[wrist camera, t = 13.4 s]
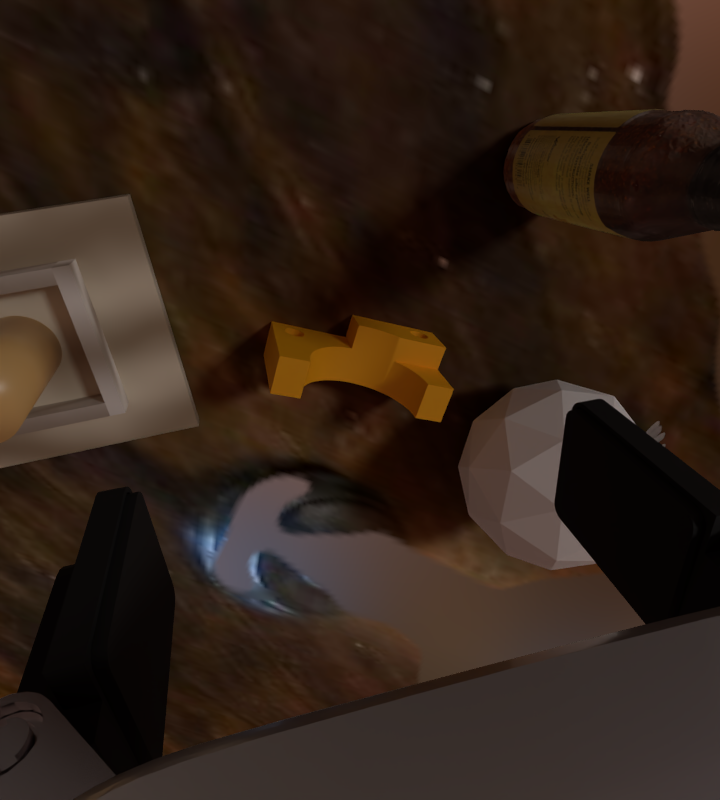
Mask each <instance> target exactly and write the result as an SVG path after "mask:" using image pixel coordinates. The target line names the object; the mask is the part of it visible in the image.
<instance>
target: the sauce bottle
mask: <svg viewBox="0 0 720 800" xmlns="http://www.w3.org/2000/svg"><path fill="white" fill-rule="evenodd" d="M503 174H504V182H505V185H506V189H507V192H508V193H509V194H510V196H511V198H512V200H513V201H514V202H515V203H516V204H517V205H519V206H521V207H523V208H526V209H527V210H529V211H530V212H532V213H534V214H536V215H540V216H543V217H547V218H551V219H554V220H558V221H562V222H566V223H571V224H574V225H578V226H582V227H586V228H590V229H594V230H598V231H601V232H606V233H610V234H614V235H617V236H621V237H626V238H630V239H634V240H640V241H659V240H664V239H670V238H675V237H680V236H685V235H690V234H695V233H700V232H705V231H710V230H715V231H720V117H719V116H718V115H715V114H713V113H710V112H705V111H699V110H698V111H697V110H683V111H672V112H671V111H666V110H659V109H655V110H633V111H610V112H590V113H568V114H555V115H550V116H548V117H546V118H542V119H538V120H537V121H535V122H533V123H531V124H529V125H528V126H527V127H525V128H523V129H522V130H521V131H520V132H519V133H518V134H517V135H516V137H515V138H514V139H513V141H512V143H511V145H510V147H509V149H508V153H507V156H506V158H505V162H504V170H503Z"/></svg>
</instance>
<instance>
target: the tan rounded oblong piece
mask: <svg viewBox="0 0 720 800" xmlns="http://www.w3.org/2000/svg"><path fill="white" fill-rule="evenodd" d="M61 360H62V349H61V345H60V342H59V340H58V338H57V337H56V335H55V334H54V333H53V332H52V331H51V330H50V329H49V328H48V327H47V326H45V325H44V324H42V323H41V322H39V321H37V320H34V319H32V318H28V317H24V316H7V317H3V318H0V443H2V442H4V441H6V440H8V439H10V438H11V437H12V436H14V435H15V434H16V433H17V431H18V430H19V428H20V427H21V425H22V424H23V422H24V421H25V419H26V417H27V416H28V414H29V413H30V411H31V410H32V408H33V406H34V405H35V403H36V402H37V400H38V399H39V397H40V395H41V394H42V392H43V391H44V389H45V388H46V386H47V384H48V383H49V381H50V380H51V378H52V377H53V375H54V373H55V372H56V370H57V369H58V367H59V365H60V363H61Z"/></svg>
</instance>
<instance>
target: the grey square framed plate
mask: <svg viewBox="0 0 720 800" xmlns="http://www.w3.org/2000/svg"><path fill="white" fill-rule="evenodd" d="M7 316H24V317H28V318H32V319H34V320H37V321H39V322H41V323H42V324H44V325H45V326H47V327H48V328H49V329H50V330H51V331H52V332H53V333H54V334H55V335H56V337H57V338H58V340H59V342H60V345H61V349H62V360H61V363H60V365H59V367H58V369H57V370H56V372H55V373H54V375H53V377H52V378H51V380H50V381H49V383H48V384H47V386H46V388H45V389H44V391H43V392H42V394H41V395H40V397H39V399H38V400H37V402H36V403H35V405H34V406H33V408H32V410H31V411H30V413H29V414H28V416H27V417H26V419H25V421H24V422H23V424H22V425H21V427H20V428H19V430H18V431H17V433H16V434H15V435H14V436H12V437H11V438H10V439H8V440H6V441H4V442H2V443H0V468H3V467H8V466H13V465H17V464H22V463H27V462H31V461H36V460H41V459H46V458H50V457H55V456H60V455H64V454H69V453H74V452H79V451H83V450H88V449H93V448H97V447H102V446H107V445H111V444H116V443H121V442H126V441H130V440H135V439H140V438H144V437H149V436H154V435H159V434H163V433H168V432H173V431H177V430H182V429H187V428H191V427H196V426H199V417H198V414H197V411H196V407H195V404H194V401H193V398H192V394H191V391H190V388H189V385H188V381H187V378H186V375H185V372H184V368H183V365H182V362H181V359H180V355H179V352H178V349H177V346H176V342H175V339H174V336H173V333H172V329H171V326H170V323H169V320H168V316H167V313H166V310H165V307H164V303H163V300H162V297H161V294H160V290H159V287H158V284H157V281H156V277H155V274H154V271H153V268H152V264H151V261H150V258H149V255H148V251H147V248H146V245H145V242H144V238H143V235H142V232H141V229H140V225H139V222H138V219H137V216H136V212H135V209H134V206H133V203H132V199H131V196H130V194H126V195H119V196H113V197H106V198H100V199H93V200H87V201H80V202H74V203H67V204H61V205H54V206H48V207H41V208H35V209H28V210H22V211H15V212H9V213H2V214H0V318H3V317H7Z"/></svg>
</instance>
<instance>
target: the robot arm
mask: <svg viewBox="0 0 720 800" xmlns="http://www.w3.org/2000/svg"><path fill="white" fill-rule="evenodd" d="M554 505H555V510H556V513H557V515H558V517H559V518H560V520H561V521H562V522H563V523H564V524H565V526H566V527H567V528H568V529H569V531H570V532H571V533H572V534H573V535H574V537H575V538H576V539H577V540H578V542H579V543H580V544H581V545H582V547H583V548H584V549H585V550H586V551H587V553H588V554H589V555H590V556H591V558H592V559H593V560H594V561H595V563H596V564H597V565H598V566H599V567H600V569H601V570H602V571H603V572H604V574H605V575H606V576H607V577H608V578H609V580H610V581H611V582H612V583H613V584H614V586H615V587H616V588H617V590H618V591H619V592H620V593H621V594H622V596H623V597H624V598H625V599H626V600H627V602H628V603H629V604H630V605H631V607H632V608H633V609H634V610H635V612H636V613H637V614H638V615H639V616H640V618H641V619H642V620H643V621H644V623H645V625H642V626H638V627H634V628H630V629H626V630H622V631H618V632H614V633H610V634H607V635H603V636H599V637H595V638H591V639H587V640H583V641H580V642H575V643H571V644H567V645H564V646H560V647H556V648H552V649H549V650H544V651H541V652H537V653H533V654H529V655H525V656H521V657H518V658H514V659H510V660H506V661H502V662H498V663H495V664H491V665H487V666H483V667H479V668H476V669H472V670H468V671H464V672H460V673H457V674H453V675H449V676H445V677H441V678H438V679H434V680H430V681H426V682H423V683H419V684H415V685H411V686H408V687H404V688H400V689H396V690H393V691H389V692H385V693H381V694H378V695H374V696H370V697H367V698H363V699H359V700H355V701H352V702H348V703H344V704H341V705H337V706H333V707H329V708H326V709H322V710H318V711H314V712H311V713H307V714H303V715H300V716H296V717H292V718H288V719H285V720H281V721H278V722H274V723H271V724H267V725H264V726H260V727H257V728H253V729H250V730H247V731H243V732H240V733H236V734H233V735H229V736H226V737H222V738H219V739H215V740H212V741H208V742H205V743H201V744H198V745H195V746H192V747H189V748H186V749H183V750H180V751H177V752H174V753H171V754H168V755H165V756H162V752H163V740H164V728H165V716H166V705H167V693H168V681H169V669H170V657H171V645H172V634H173V622H174V610H175V592H174V587H173V583H172V580H171V577H170V574H169V571H168V568H167V565H166V563H165V560H164V557H163V554H162V551H161V548H160V545H159V542H158V539H157V536H156V533H155V530H154V527H153V524H152V521H151V518H150V515H149V512H148V509H147V506H146V504H145V501H144V498H143V495H142V493H141V492H135V493H132V491H131V489H130V488H129V487H123V488H117V489H112V490H107V491H101V492H98V493H97V495H96V497H95V501H94V504H93V507H92V511H91V514H90V517H89V520H88V524H87V527H86V530H85V533H84V537H83V540H82V543H81V546H80V550H79V553H78V556H77V559H76V563H75V564H74V565H69V566H64V567H63V568H61V569H60V570H59V572H58V574H57V576H56V579H55V582H54V585H53V588H52V591H51V594H50V597H49V600H48V603H47V606H46V609H45V612H44V615H43V618H42V621H41V624H40V627H39V630H38V633H37V636H36V639H35V641H34V644H33V647H32V650H31V653H30V656H29V659H28V662H27V665H26V668H25V671H24V674H23V677H22V680H21V683H20V686H19V689H18V692H17V693H15V694H10V695H8V696H5V697H3V698H1V699H0V800H720V490H719V489H718V488H716V487H715V486H714V485H712V484H711V483H710V482H709V481H707V480H706V479H705V478H704V477H702V476H701V475H700V474H698V473H697V472H696V471H695V470H693V469H692V468H691V467H689V466H688V465H687V464H686V463H684V462H683V461H682V460H680V459H679V458H678V457H677V456H675V455H674V454H673V453H671V452H670V451H669V450H668V449H666V448H665V447H664V446H662V445H661V444H660V443H659V442H657V441H656V440H655V439H654V438H652V437H651V436H650V435H648V434H647V433H646V432H645V431H643V430H642V429H641V428H639V427H638V426H637V425H636V424H634V423H633V422H632V421H630V420H629V419H628V418H627V417H625V416H624V415H623V414H621V413H620V412H619V411H618V410H616V409H615V408H614V407H613V406H611V405H610V404H609V403H607V402H606V401H605V400H603V399H594V400H589V401H584V402H578V403H576V404H574V406H573V407H572V410H570V411H568V413H567V414H566V419H565V427H564V434H563V442H562V449H561V456H560V464H559V471H558V479H557V486H556V493H555V501H554Z"/></svg>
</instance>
